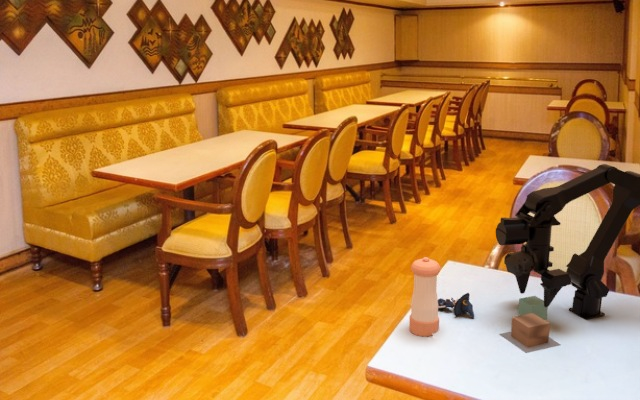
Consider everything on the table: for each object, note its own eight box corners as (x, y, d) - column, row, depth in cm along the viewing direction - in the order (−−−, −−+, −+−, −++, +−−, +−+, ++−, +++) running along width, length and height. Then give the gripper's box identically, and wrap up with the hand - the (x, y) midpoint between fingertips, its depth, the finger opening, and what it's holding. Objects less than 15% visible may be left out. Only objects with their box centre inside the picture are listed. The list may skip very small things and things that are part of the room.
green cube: (533, 313, 160) (534, 295, 159) (546, 320, 156) (548, 302, 154) (517, 316, 158) (519, 298, 157) (530, 324, 154) (531, 306, 153)
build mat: (532, 329, 151) (532, 326, 151) (560, 347, 142) (561, 344, 142) (498, 336, 148) (498, 334, 148) (525, 355, 139) (525, 352, 139)
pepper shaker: (432, 339, 147) (434, 264, 142) (404, 332, 151) (405, 259, 146) (443, 327, 153) (445, 255, 148) (416, 320, 157) (417, 250, 152)
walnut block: (531, 331, 149) (532, 312, 147) (548, 342, 143) (549, 323, 142) (510, 336, 146) (512, 317, 145) (527, 347, 141) (528, 327, 140)
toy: (432, 288, 170) (479, 289, 158) (437, 313, 170) (484, 315, 159) (414, 297, 164) (461, 298, 153) (419, 323, 164) (466, 326, 153)
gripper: (488, 235, 158) (485, 291, 162) (537, 258, 141) (532, 320, 145) (523, 230, 161) (520, 285, 165) (575, 251, 144) (569, 312, 148)
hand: (534, 299), depth 156 cm, fingers open, 9 cm apart
